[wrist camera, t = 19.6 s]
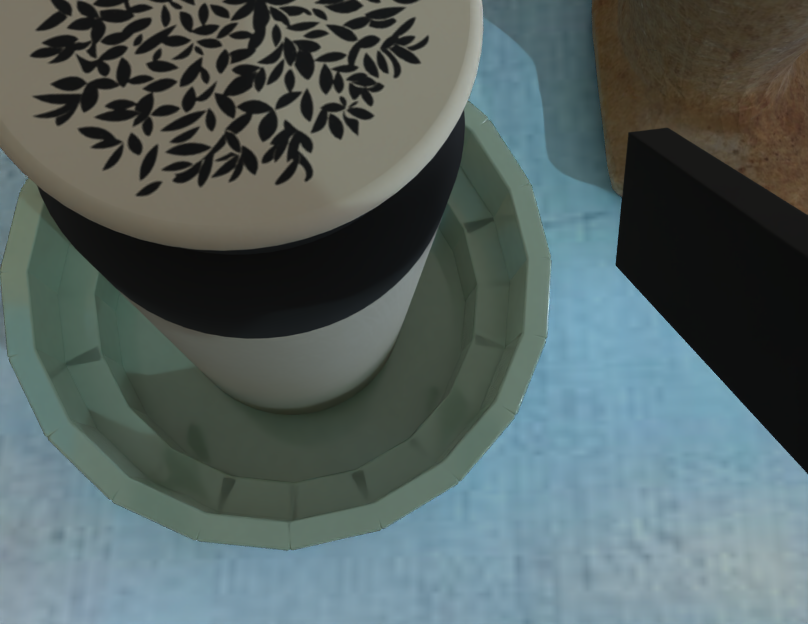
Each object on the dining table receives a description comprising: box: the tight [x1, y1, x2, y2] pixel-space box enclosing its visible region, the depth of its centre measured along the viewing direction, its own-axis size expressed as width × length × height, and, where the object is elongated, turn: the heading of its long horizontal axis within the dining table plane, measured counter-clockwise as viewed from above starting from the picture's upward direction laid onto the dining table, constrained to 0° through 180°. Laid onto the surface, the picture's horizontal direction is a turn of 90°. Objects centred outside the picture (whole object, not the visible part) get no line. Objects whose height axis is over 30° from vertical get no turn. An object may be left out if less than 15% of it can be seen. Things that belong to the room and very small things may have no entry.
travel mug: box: [0, 0, 483, 415], centre depth 19 cm, size 8×8×18 cm
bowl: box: [0, 101, 551, 551], centre depth 26 cm, size 17×17×6 cm
